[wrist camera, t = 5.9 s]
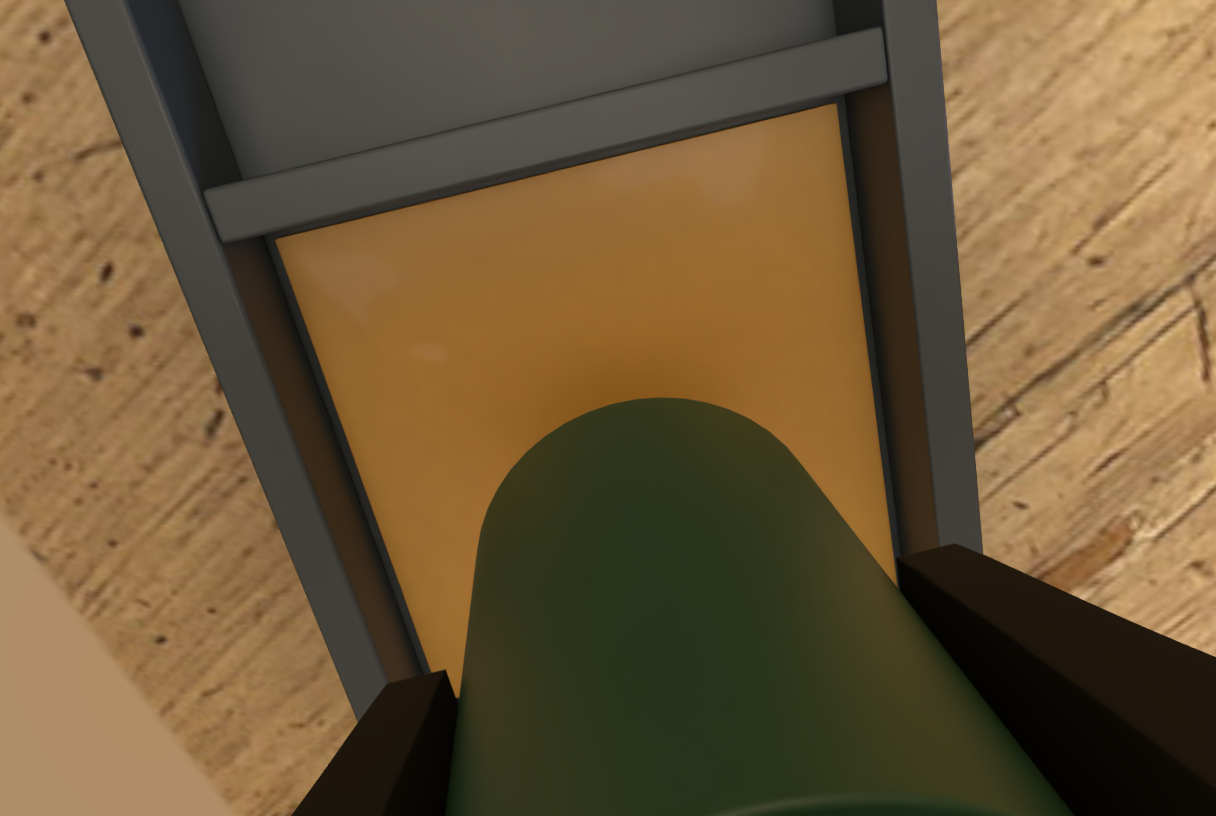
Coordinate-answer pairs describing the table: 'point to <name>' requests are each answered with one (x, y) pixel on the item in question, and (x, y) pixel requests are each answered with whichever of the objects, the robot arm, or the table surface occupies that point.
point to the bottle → (705, 643)
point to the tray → (546, 259)
